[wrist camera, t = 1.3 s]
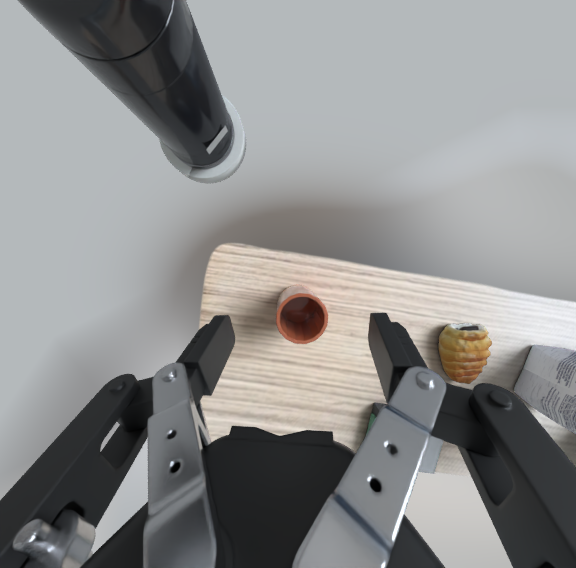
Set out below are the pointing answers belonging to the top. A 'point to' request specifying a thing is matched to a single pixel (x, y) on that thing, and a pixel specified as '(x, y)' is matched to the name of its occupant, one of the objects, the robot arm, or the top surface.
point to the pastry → (464, 351)
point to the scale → (431, 450)
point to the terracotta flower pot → (300, 315)
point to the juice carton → (550, 383)
